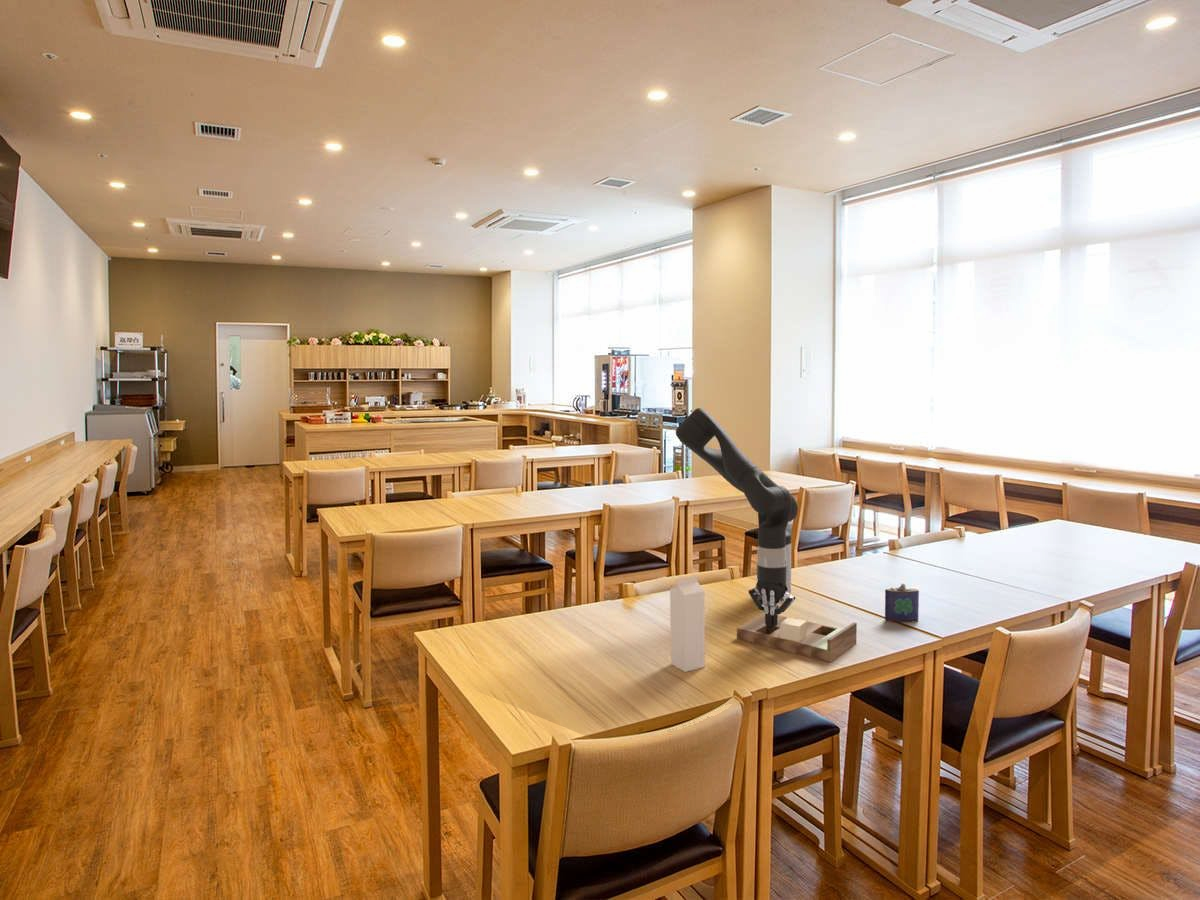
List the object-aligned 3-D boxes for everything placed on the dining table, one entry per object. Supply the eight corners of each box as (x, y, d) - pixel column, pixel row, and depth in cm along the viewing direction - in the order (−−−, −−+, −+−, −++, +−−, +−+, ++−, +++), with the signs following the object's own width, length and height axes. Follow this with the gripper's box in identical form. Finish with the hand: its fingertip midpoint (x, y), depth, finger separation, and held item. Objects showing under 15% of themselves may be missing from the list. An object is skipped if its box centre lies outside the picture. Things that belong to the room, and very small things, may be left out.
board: (736, 638, 195) (736, 618, 195) (766, 622, 207) (766, 604, 207) (830, 662, 178) (830, 640, 178) (856, 643, 190) (856, 622, 190)
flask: (916, 618, 208) (917, 582, 207) (920, 622, 205) (921, 585, 204) (883, 619, 209) (884, 582, 208) (887, 622, 206) (887, 585, 205)
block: (780, 638, 187) (780, 622, 187) (787, 632, 191) (787, 617, 191) (799, 641, 184) (799, 626, 184) (806, 636, 188) (806, 620, 188)
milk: (705, 667, 177) (705, 578, 175) (684, 672, 174) (684, 582, 172) (690, 658, 182) (690, 572, 180) (670, 663, 179) (669, 576, 177)
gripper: (741, 561, 192) (741, 626, 194) (788, 569, 184) (787, 637, 185) (756, 556, 198) (756, 618, 200) (801, 563, 189) (801, 629, 191)
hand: (771, 627), depth 193 cm, fingers closed
